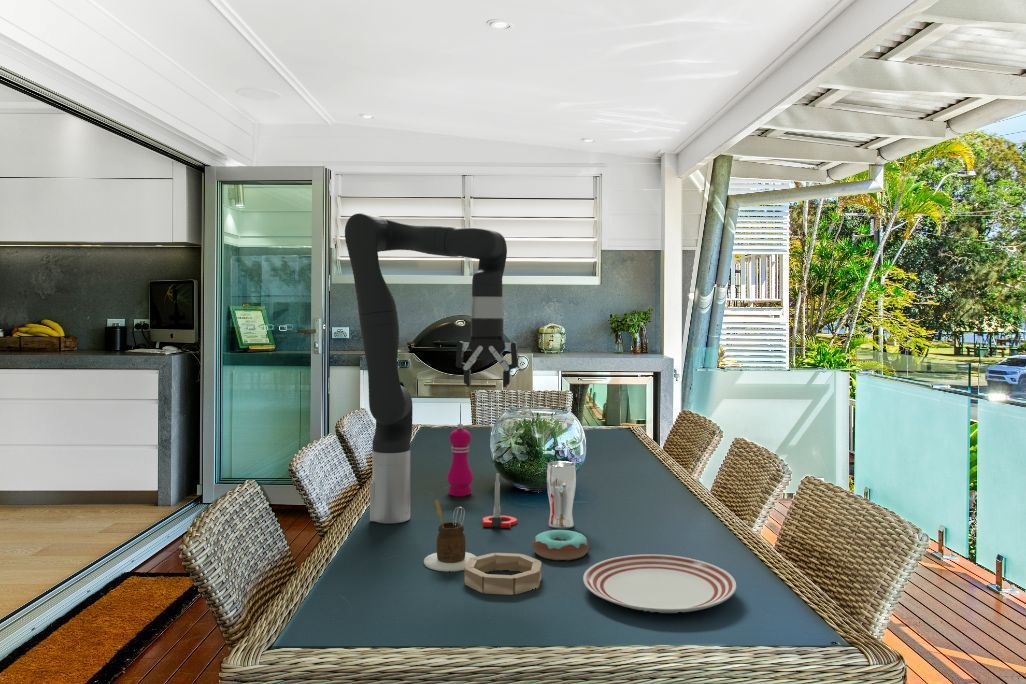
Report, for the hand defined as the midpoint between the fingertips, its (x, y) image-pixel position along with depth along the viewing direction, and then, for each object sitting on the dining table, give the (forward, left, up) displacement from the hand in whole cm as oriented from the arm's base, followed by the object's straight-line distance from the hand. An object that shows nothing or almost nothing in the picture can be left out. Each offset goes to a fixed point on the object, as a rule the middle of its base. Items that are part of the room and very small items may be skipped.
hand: (486, 386), depth 175 cm
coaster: (-4, -22, -34) cm, 41 cm away
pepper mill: (-13, +36, -34) cm, 51 cm away
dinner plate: (+37, -34, -35) cm, 61 cm away
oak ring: (+8, -31, -34) cm, 47 cm away
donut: (+18, -13, -35) cm, 41 cm away
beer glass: (+17, +8, -34) cm, 39 cm away
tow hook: (+2, +8, -34) cm, 35 cm away
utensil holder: (-4, -22, -34) cm, 40 cm away
